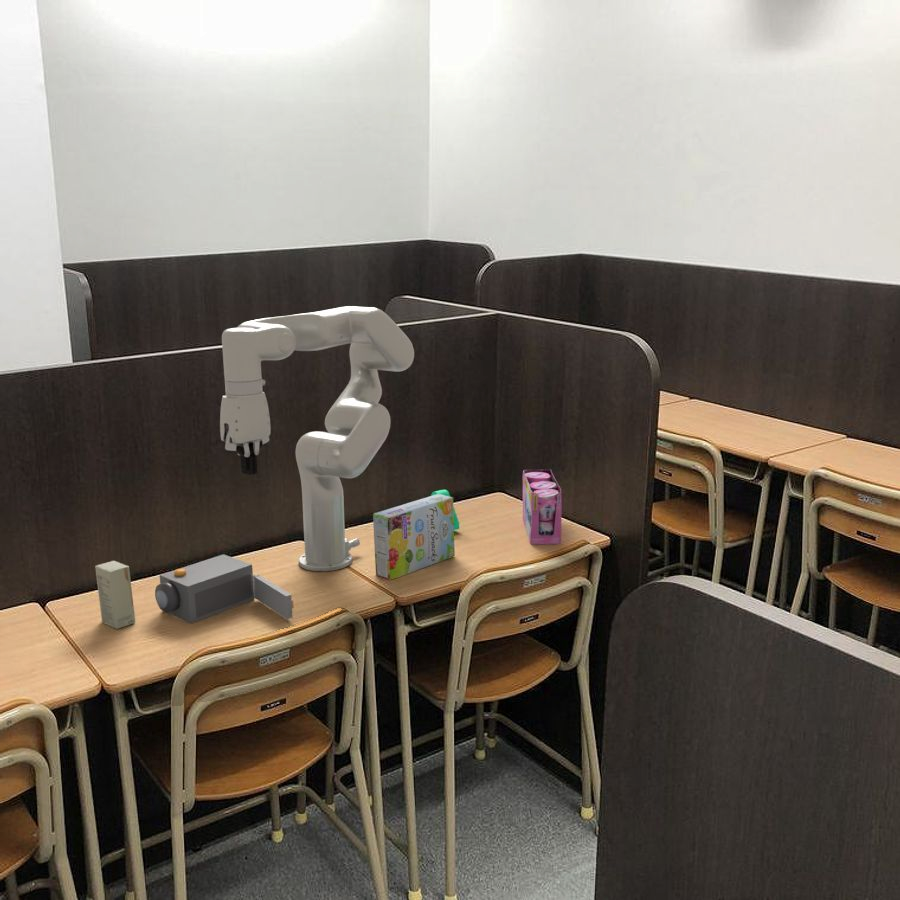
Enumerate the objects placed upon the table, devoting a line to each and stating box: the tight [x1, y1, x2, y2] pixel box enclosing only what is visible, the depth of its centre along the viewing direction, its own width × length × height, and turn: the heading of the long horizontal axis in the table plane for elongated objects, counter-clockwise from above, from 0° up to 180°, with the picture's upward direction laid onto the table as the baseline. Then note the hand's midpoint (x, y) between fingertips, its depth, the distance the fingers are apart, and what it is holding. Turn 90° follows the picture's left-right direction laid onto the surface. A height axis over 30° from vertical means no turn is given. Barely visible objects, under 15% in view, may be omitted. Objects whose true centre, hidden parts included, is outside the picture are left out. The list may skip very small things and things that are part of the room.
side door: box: [253, 573, 295, 620], centre depth 196 cm, size 15×2×5 cm, turn 38°
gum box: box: [522, 469, 562, 545], centre depth 244 cm, size 24×8×14 cm, turn 1°
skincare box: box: [94, 560, 136, 630], centre depth 190 cm, size 6×4×12 cm
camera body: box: [154, 553, 255, 624], centre depth 198 cm, size 19×10×9 cm, turn 139°
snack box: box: [372, 494, 456, 581], centre depth 220 cm, size 21×6×15 cm, turn 136°
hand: (249, 473), depth 200 cm, fingers closed
